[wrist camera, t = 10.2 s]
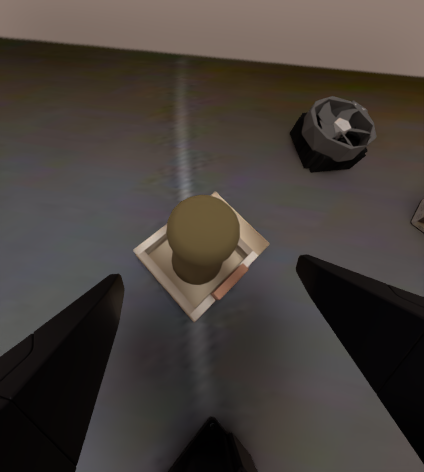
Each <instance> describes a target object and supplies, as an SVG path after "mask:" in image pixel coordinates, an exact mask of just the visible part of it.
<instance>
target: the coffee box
mask: <svg viewBox="0 0 424 472" xmlns="http://www.w3.org/2000/svg"><path fill="white" fill-rule="evenodd" d="M411 223H412V224H413V225H414V226H416V227H417V228H418V229H420V230H421V231H423V232H424V199H422V201H421V203H420V205H419V207H418V209H417V211H416V213H415V215H414V217H413V219H412V221H411Z"/></svg>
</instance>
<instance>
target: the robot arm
mask: <svg viewBox="0 0 424 472" xmlns="http://www.w3.org/2000/svg"><path fill="white" fill-rule="evenodd" d="M296 272H297V274H298V276H299V278H300V280H301V281H302V283H303V285H304V287H305V289H306V290H307V292H308V294H309V296H310V297H311V299H312V300H313V302H314V303H315V305H316V306H317V308H318V309H319V311H320V312H321V314H322V315H323V317H324V318H325V320H326V321H327V323H328V324H329V325H330V327H331V328H332V330H333V331H334V333H335V334H336V336H337V337H338V339H339V340H340V342H341V343H342V345H343V346H344V347H345V349H346V350H347V352H348V353H349V355H350V356H351V358H352V359H353V361H354V362H355V364H356V365H357V367H358V368H359V369H360V371H361V372H362V374H363V375H364V377H365V378H366V380H367V381H368V383H369V384H370V386H371V387H372V389H373V390H374V391H375V393H376V394H377V396H378V398H379V399H380V400H381V402H382V403H383V405H384V406H385V408H386V409H387V411H388V412H389V414H390V415H391V417H392V418H393V420H394V421H395V422H396V424H397V425H398V427H399V428H400V430H401V431H402V433H403V434H404V436H405V437H406V439H407V440H408V442H409V443H410V445H411V446H412V447H413V449H414V450H415V452H416V453H417V455H418V456H419V458H420V459H421V461H422V462H423V464H424V297H422V296H419V295H416V294H413V293H410V292H407V291H405V290H402V289H399V288H396V287H394V286H391V285H387V284H385V283H383V282H380V281H377V280H375V279H372V278H369V277H367V276H364V275H361V274H359V273H356V272H353V271H350V270H348V269H345V268H342V267H340V266H337V265H334V264H332V263H329V262H326V261H324V260H321V259H318V258H315V257H313V256H310V255H300V256H299V258H298V262H297V266H296ZM123 297H124V285H123V281H122V278H121V275H120V274H111V275H109V276H107V277H106V278H105V279H103V280H102V281H101V282H99V283H98V284H97V285H95V286H94V287H93V288H91V289H90V290H89V291H87V292H86V293H85V294H84V295H82V296H81V297H80V298H78V299H77V300H76V301H74V302H73V303H72V304H70V305H69V306H68V307H66V308H65V309H64V310H62V311H61V312H60V313H58V314H57V315H56V316H54V317H53V318H52V319H50V320H49V321H48V322H46V323H45V324H44V325H42V326H41V327H40V328H38V329H37V330H36V331H34V334H30V335H29V336H28V337H26V338H25V339H24V340H22V341H21V342H20V343H18V344H17V345H16V346H14V347H13V348H12V349H10V350H9V351H8V352H6V353H5V354H3V355H2V356H1V357H0V472H75V471H76V466H77V463H78V460H79V457H80V453H81V450H82V446H83V443H84V440H85V436H86V433H87V430H88V426H89V423H90V419H91V416H92V413H93V409H94V406H95V403H96V399H97V396H98V392H99V389H100V386H101V382H102V379H103V376H104V372H105V369H106V365H107V362H108V359H109V355H110V352H111V349H112V345H113V342H114V339H115V335H116V332H117V328H118V325H119V320H120V315H121V309H122V303H123ZM211 423H214V424H215V425H214V426H213V427H210V424H211ZM168 472H258V471H257V469H256V468H255V465H254V463H253V460H252V458H251V455H250V454H249V453H248V452H247V450H246V449H245V448H244V447H243V445H242V444H241V443H240V442H239V441H238V439H237V438H236V437H235V436H234V434H233V433H230V432H229V433H227V432H226V431H225V430H224V428H223V427H222V426H221V425H220V424H219V422H218V421H217V420H216V419H215V418H214V417H210V418H209V419H208V420H207V422H206V423H205V424H204V425H203V427H202V428H201V429H200V431H199V432H198V433H197V435H196V436H195V437H194V438H193V440H192V441H191V442H190V444H189V445H188V446H187V448H186V449H185V450H184V451H183V453H182V454H181V455H180V457H179V458H178V459H177V461H176V462H175V463H174V464H173V466H172V467H171V468H170V470H169V471H168Z"/></svg>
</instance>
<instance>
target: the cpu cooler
mask: <svg viewBox="0 0 424 472" xmlns="http://www.w3.org/2000/svg"><path fill="white" fill-rule="evenodd" d="M367 111H368V110H366V109H365V108H363V107H362V106H361V105H359V104H358V103H356V102H355V101H354V100H353V101H347V100H344V99H341V98H337V97H334V96H332V97H328V98H325V99H322V100H318V101H316V102H315V103H314V105H313V106H312V107H311V109H310V110H309V112H308V113H302V115H301V117H299V119H298V121H297V122H296V124H295V125H294V127H293V129H292V130H291V132H290V135H291V138H292V139H293V143H294V145H295V147H296V150H297V152H298V155H299V157H300V159H301V162H302V164H303V167H304V168H309V169H310V171H311V172H320V171H330V170H331V171H332V170H341V169H342V170H343V169H350V168H351V167H352V166H354V165H355V164H356V163H357V162H359V161H360V160H361V159H362V158H363V157H365V156H366V155H365V153H366V152H367V149H366V146H368V145H369V144H370V143H371V142H372V141H373V140H374V139H375V138H376V133H375V127H374V122H373V121H372V119H371V118H370V117H369V115H368V114H367Z"/></svg>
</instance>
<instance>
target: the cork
mask: <svg viewBox="0 0 424 472" xmlns="http://www.w3.org/2000/svg"><path fill="white" fill-rule="evenodd" d="M166 234H167V239H168V243H169V246H170V247H171V249H172V251H173V252H172V261H171V262H172V266H173V270H174V271H175V273H176V275H177V276H178V277H179V278H180V279H181V280H183V281H184V282H186V283H189V284H191V285H202V284H205V283H208V282H210V281H211V280H213V279H214V278H215V277H216V276H217V275H218V273H219V272H220V269H221V266H222V263H223V261H225V260H226V259H228V258H229V257H230V256H231V254H232V253H233V252H234V250H235V249H236V248H237V245H238V241H239V238H240V224H239V221H238V218H237V215H236V213H235V212H234V211H233V210H232V208H231V207H230V206H229V205H228V204H226V203H225V202H224V201H222V200H221V199H219V198H216V197H213V196H209V195H198V196H193V197H189V198H187V199H185V200H183V201H181V202H180V203H179V204H178V205H177V206H176V207H175V208H174V209H173V211H172V213H171V215H170V217H169V219H168V222H167V230H166Z"/></svg>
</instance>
